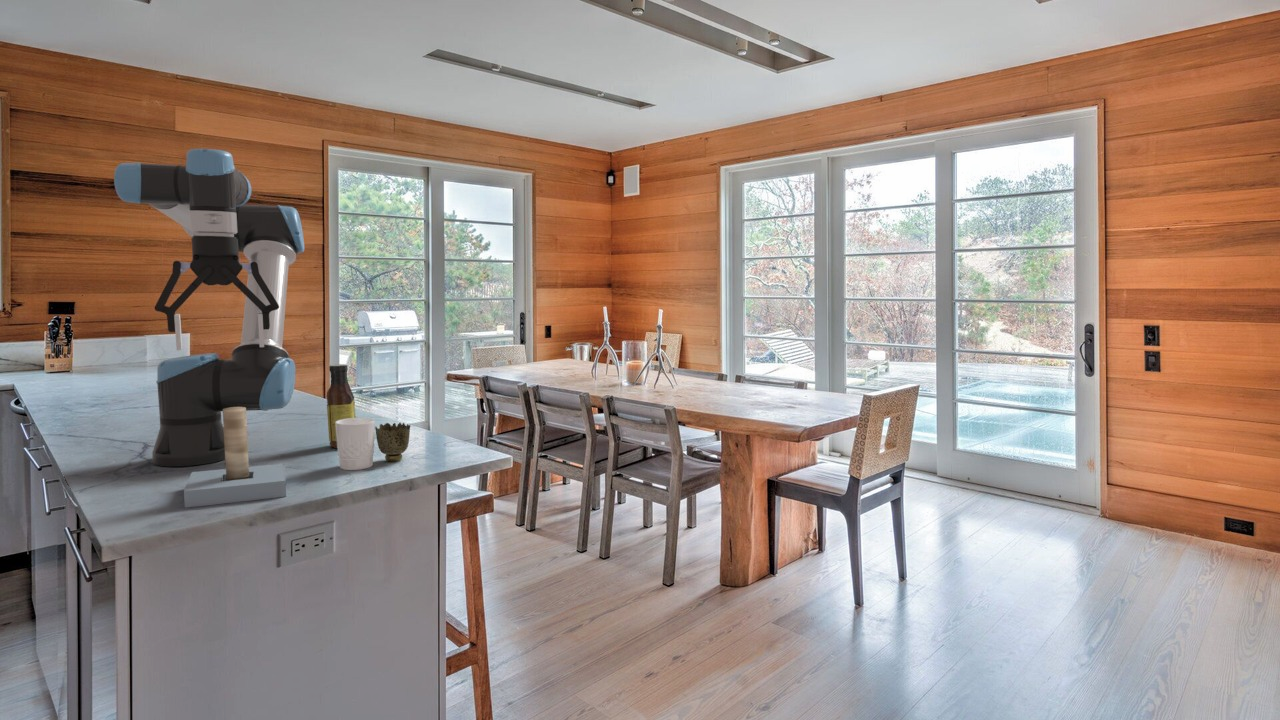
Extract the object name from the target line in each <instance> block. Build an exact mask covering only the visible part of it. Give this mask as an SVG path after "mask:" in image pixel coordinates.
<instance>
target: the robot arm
mask: <svg viewBox="0 0 1280 720" xmlns="http://www.w3.org/2000/svg"><path fill="white" fill-rule="evenodd" d="M185 163H186V165H184V164H183V165H181V164H164V163H163V164H162V163H147V162H146V163H144V162H140V161H137V162H122V163H119V164H118V165H117V166H116V167H115V170H114V174H113V175H114V177H113V181H114V183H113V184H114V189H115V192H116V194H117V196H118V198H119V199H120V200H121V201H123V202H125V203H131V204H137V205H140V204H148V205H149V206H151V207H153V208H154V209H155V210H158V211H159V213H162V214H163V215H165V216H166V217H168V218H170V219H171V220H173V221H174V222H176V223H178V224H179V225H180V226H182V229H183V231H184V232H185V233H186V234H187V235H188V236H189V237H191V251H192V253H191V254H192V255H191V256H192V260H191V262H186V261H185V262H184V261H180V260H174V261H173V263H172V273H171V275H170V276H169V278H168V281H167V283H166V285H165V286H164V288H163V290H162V292H161V294H160V295H159V297H158V300H157V302H156V304H155V306H154V310H155V311H156V312H160V313H163V314H165V315H166V319H167V320H166V321H167V330H168V332H169V333H175V345H176V348H175V349H176V351H182V350H183V337H182V326H181V325H182V323H181V314H180V313H176V312H177V310H179V308H180V307H181V306H182V305H183V304H184V303H185V302H186V301H187V299H189V297H190V296H191V295H193V293H194V292H195V291H196V290H197V289H198V288H199V287H200V286H201V284H204V285H207V286H216V285H220V286H229V285H231V284H234V286H235V287H236V288H237V289H238V290H240V291H241V292H242V294H244V296H245V301H244V310H243V311H244V312H243V317H242V318H243V319H242V320H243V321H242V327H241V328H242V330H241V340H240V344H239V345H237V346H235V347H234V348H233V349H232V351H231V352H232V353H231V358H230V359H228V358H226V359H220V356H219V354H218V353H217V352H213V353H212V352H211V353H209V352H208V353H199V354H191V355H185V356H184V355H183V356H179V357H172V358H167V359H165V360H163V361H160V362H159V363H158V365H157V372H156V373H157V378H156V386H157V396H158V397H157V399H158V410H159V412H158V413H159V429H158V433H157V436H156V440H155V443H154V446H153V449H152V453H151V454H152V458H151V459H152V464H153V465H156V466H161V467H191V466H198V465H199V466H200V465H204V464H205V465H207V464H212V463H217V462H220V461H225V445H224V425H223V419H222V412H223V409H224V408H230V407H246V412H248V411H264V412H266V411H270V410H281V409H284V408H285V407H287V405H289V403H290V401H291V399H292V397H293V394H294V390H295V386H296V385H295V384H296V372H297V371H296V369H297V368H296V363H295V361H294V360H293V359H292V358H290V357H289V352H288V351H287V350H286V349H285V348H284V347H283V344H284V343H283V340H284V328H285V318H286V317H285V315H286V303H287V293H288V292H287V291H288V279H289V266H291V265H292V264H294V263H295V262H296V260H297V254H298V255H299V254H302V253H304V252H305V238H304V233H303V227H302V222H301V218H300V214H299V212H298V210H297V209H296V208H295V207H293V206H286V205H280V204H277V205H262V204H246V203H248V202H249V200H250V198H251V196H252V185H251V182H250V181H249V179H248V178H247V177H246V176H245V175H244V174H243V173H242V172H241V171H239V170H237V169H236V165H235V163H234V158H233V154H231V153H230V152H229V151H225V150H220V149H215V148H214V149H211V148H191V149H189V150H187V152H186V162H185ZM240 253H243V255H244V257H245V258H246V259H247V260H248V261H249V262H245V263H244V262H243V263H242V262H241V261H240ZM188 269H190V270H191V271H192V272H193V273H194V275H195V276H196V278H195V279H193V280H192V282H191V283H190V284H189V285H188V286H187V288H186V289H185V290H183V292H182V293H181V294H180V295H179V296H178V297H177V298H176V300H175V301H173V303H172V304H171V305H170V306H168V305H166V304H167V302H168V301H169V298H170V297H171V294H172V293H173V291H174V289H175V287H176V285H177V283H178V282H179V281H178V280H179V279H180V278H181V274H185V273H186V271H187V270H188ZM243 269H244V270H246V273H247V284H246V285H245V284H244V282H242V280H241V279H239V277H238V275H239V274H240V273H241V271H242V270H243Z"/></svg>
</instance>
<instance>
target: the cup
mask: <svg viewBox="0 0 1280 720" xmlns="http://www.w3.org/2000/svg"><path fill="white" fill-rule="evenodd" d="M410 430H411V424H409V423H407V424H406V423H405V422H403V423H401V422H399V423H398V424H396V423H395V422H394V423H392V425H391V424H390V423H389V422H386V423H384V424H382V423H380V424H379V427H377V426H375V427H374V431H375V437H376V442H377V443H376V444H377V446H378V449H379V451H380V452H381V453H382V454H384V459H385V460H386V462H389V463H396V462H399V461H401V460H402V459H403V455H402V454H403V453H404V452H405V451H406V450H407V449H408V447H409V443H410V432H411V431H410Z"/></svg>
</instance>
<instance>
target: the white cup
mask: <svg viewBox="0 0 1280 720" xmlns="http://www.w3.org/2000/svg"><path fill="white" fill-rule="evenodd" d="M375 421H376V420H375V419H374V418H371V417H355V418H348V419H342V420H338V421H336V422H335V425H336V437H337V448H336V449H337V454H338V459H339V460H338V461H339V468H340V469H341V470H345V471H359V470H365V469H370V468H371V467H373V466H374V453H375V451H374V449H375V423H376V422H375Z"/></svg>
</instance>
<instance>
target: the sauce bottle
mask: <svg viewBox="0 0 1280 720" xmlns="http://www.w3.org/2000/svg"><path fill="white" fill-rule="evenodd" d="M328 370H329V372H330V386H329V388H328V390H327V391H326V411H327V426H328V428H327V429H328V441H329V445H330V447H331V448H334V449H338V448H337V437H336V425H335V422H336V421H338V420H342V419H348V418H356V406H355V395H354V393H353V391H352V388H351V386H350V384H349V380H348V365H347V364H343V363H341V364H339V363H338V364H332V365H331V364H330V365H329V369H328Z"/></svg>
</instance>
